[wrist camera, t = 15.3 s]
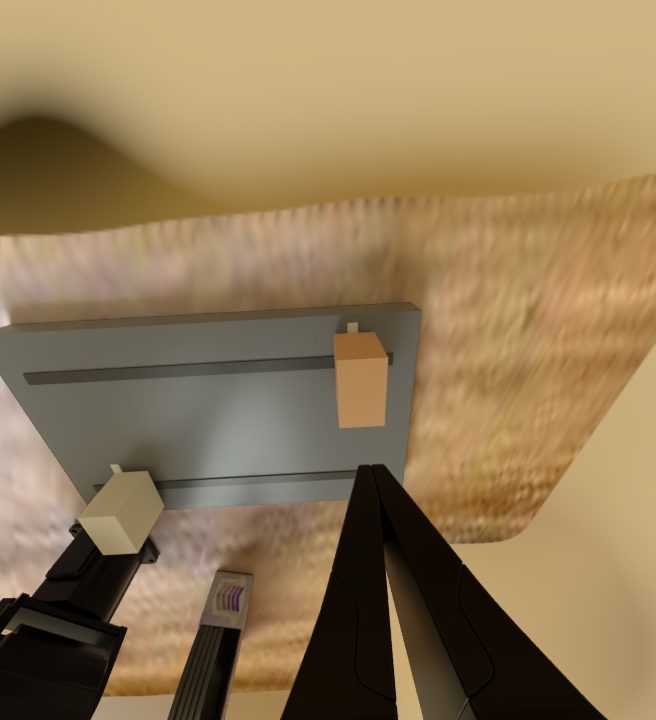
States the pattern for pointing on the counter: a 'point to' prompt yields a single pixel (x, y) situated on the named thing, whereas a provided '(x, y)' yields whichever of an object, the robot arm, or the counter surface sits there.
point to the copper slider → (360, 379)
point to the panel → (212, 401)
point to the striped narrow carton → (214, 651)
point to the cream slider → (122, 513)
